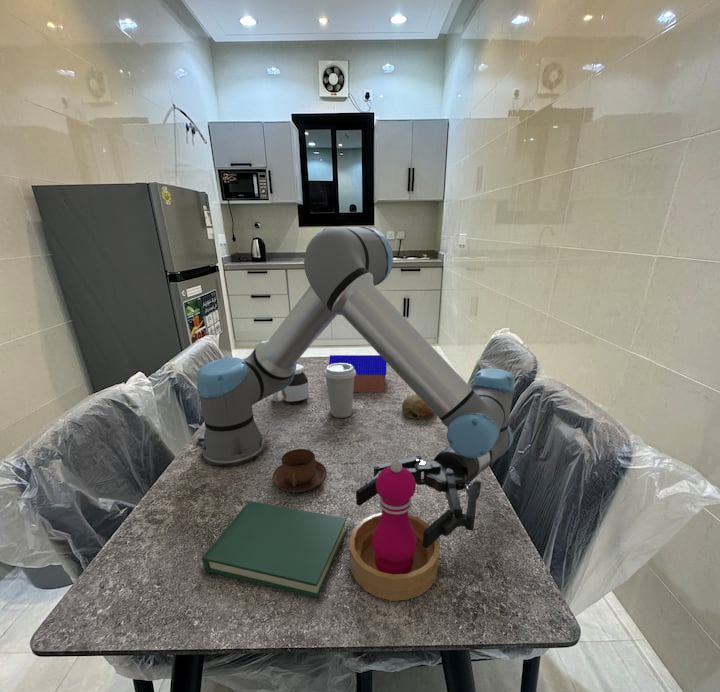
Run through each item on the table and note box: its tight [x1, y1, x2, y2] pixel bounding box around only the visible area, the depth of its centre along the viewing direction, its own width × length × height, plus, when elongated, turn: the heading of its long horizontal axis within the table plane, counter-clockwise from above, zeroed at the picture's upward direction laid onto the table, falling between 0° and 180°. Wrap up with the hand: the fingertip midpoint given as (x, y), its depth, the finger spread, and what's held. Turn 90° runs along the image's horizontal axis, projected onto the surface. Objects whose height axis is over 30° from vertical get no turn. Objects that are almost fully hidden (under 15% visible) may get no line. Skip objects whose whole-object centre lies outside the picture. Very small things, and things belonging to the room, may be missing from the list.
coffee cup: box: [323, 363, 356, 419], centre depth 116 cm, size 10×10×15 cm
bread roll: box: [401, 393, 435, 420], centre depth 117 cm, size 10×10×8 cm
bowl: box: [349, 512, 441, 602], centre depth 64 cm, size 15×15×5 cm
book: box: [201, 500, 348, 599], centre depth 67 cm, size 20×15×3 cm
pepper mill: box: [372, 460, 417, 574], centre depth 61 cm, size 7×7×20 cm
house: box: [328, 354, 387, 393], centre depth 137 cm, size 12×20×12 cm, turn 86°
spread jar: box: [271, 363, 310, 405], centre depth 126 cm, size 12×11×12 cm
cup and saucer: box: [272, 448, 327, 493], centre depth 86 cm, size 12×12×6 cm
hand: (388, 518), depth 59 cm, fingers open, 13 cm apart
